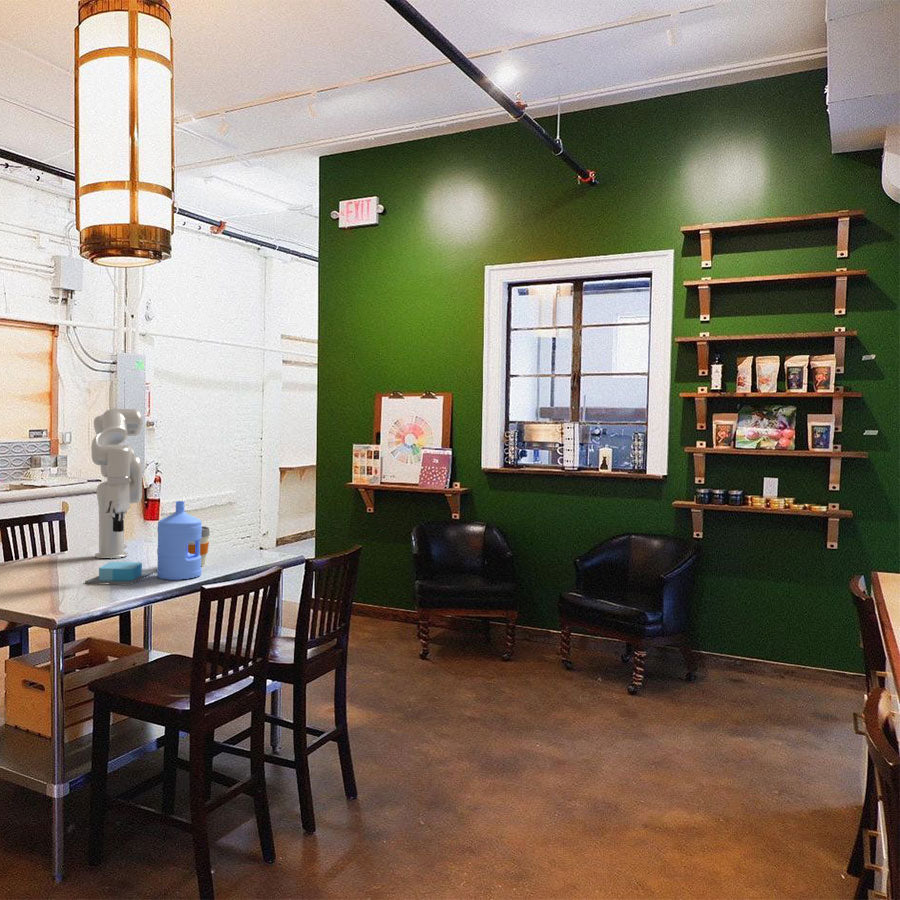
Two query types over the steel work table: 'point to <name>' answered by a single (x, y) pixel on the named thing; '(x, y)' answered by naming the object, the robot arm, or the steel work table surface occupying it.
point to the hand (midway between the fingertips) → (118, 531)
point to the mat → (144, 574)
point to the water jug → (178, 545)
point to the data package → (120, 571)
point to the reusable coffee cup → (201, 545)
